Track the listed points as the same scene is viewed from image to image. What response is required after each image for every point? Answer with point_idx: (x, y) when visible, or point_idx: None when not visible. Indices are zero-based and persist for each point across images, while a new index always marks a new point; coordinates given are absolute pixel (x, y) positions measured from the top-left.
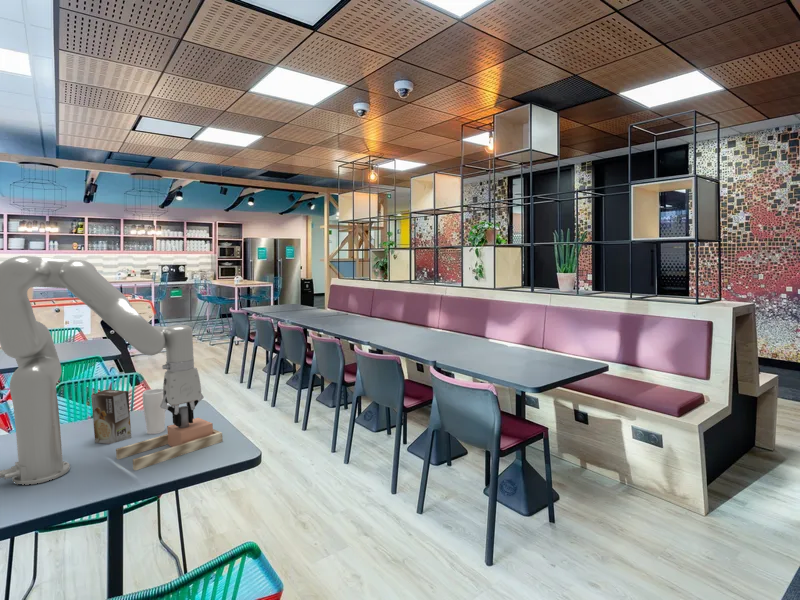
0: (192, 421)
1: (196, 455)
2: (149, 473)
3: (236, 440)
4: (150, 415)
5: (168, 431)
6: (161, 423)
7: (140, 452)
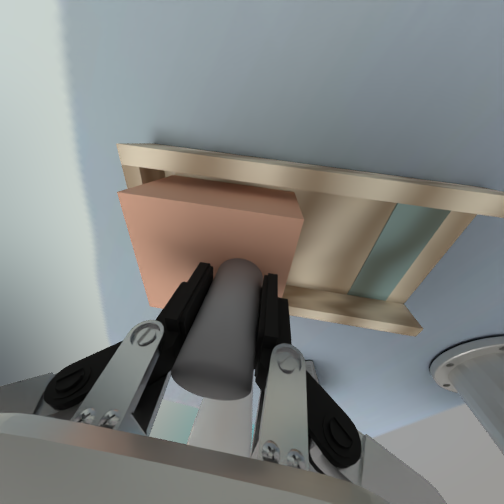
0: (200, 265)
1: (265, 143)
2: (466, 149)
3: (98, 135)
4: (247, 401)
5: None
6: None
7: (345, 295)
